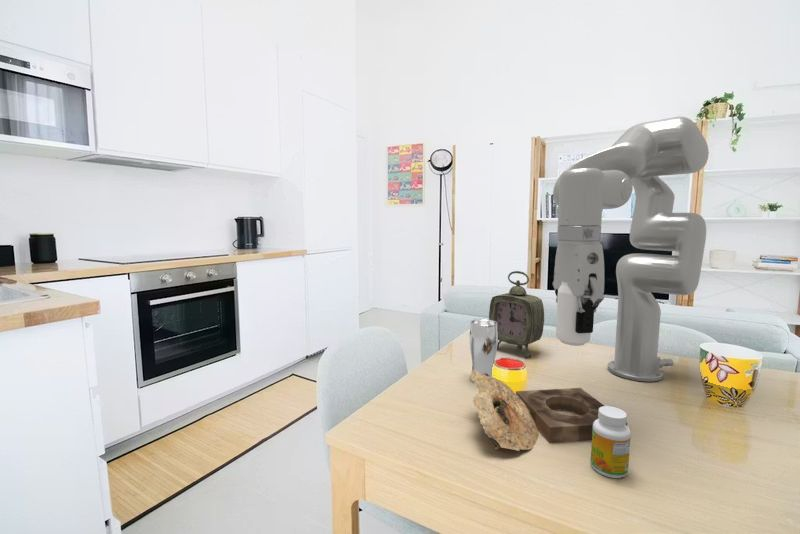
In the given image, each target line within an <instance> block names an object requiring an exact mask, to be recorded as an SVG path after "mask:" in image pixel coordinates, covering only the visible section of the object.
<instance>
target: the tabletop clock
mask: <svg viewBox="0 0 800 534" xmlns="http://www.w3.org/2000/svg"><path fill="white" fill-rule="evenodd" d="M513 274H518V275H519V274H520V275H523V276H525V277H526V281H525V282H520V280H516V282H515V281H512V280H511V279H510V276H512V275H513ZM507 279H508V281H509V283H510V284H512V285H514V286H512V287H511V288H510V289H509V292H507V293H503V294H498V295H495V296H492V298H491V300H490V303H489V313H488V320H493V321H496V322H497V323H498V346H497V350H498V349H499V348H500V344H501V343H502V342H503V343H506V344H509V345H514V346H516V349H517V350H518V349H519V350H518V351H521V350H523V346H524V348H525V351H526V352H525V353H524V356H525V358H530V357H531V356H532V354H531V352H530V351H529V345H531V344H533V343H536V342H538V341H540V340H541V339H542V336H543V332H544V326H545V309H544V302H543V300H542V299H541V298H539V297H538V296H535V295H532V294H527V291H526V288H525V287H524V286H526V285H527V284H528V283H529V281H530V277H529V275H528V274H527V273H526V272H524V271H519V270H515V271H511V272H509V274H508V276H507Z"/></svg>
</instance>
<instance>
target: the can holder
mask: <svg viewBox="0 0 800 534" xmlns="http://www.w3.org/2000/svg"><path fill="white" fill-rule="evenodd" d="M515 394H516V395H517V396H518V397H519V398H520V399H521V400H522V401H523V402H524V404H525V405H526V406H527V408H528V410H529V412H530V414H531V416H532V418H533V420H534V422H535V424H536V427H537V429H538V432H539V434H541V435H542V437H543V438H544V439H545V440H546V441H547V442H548V443H549V444H555V443H557V444H558V443H559V444H560V443H570V442H572V443H573V442H585V441H586V442H587V441H592V429H593V423H594V421H595V420H597V419H599V418H598V411H599V408H600V407H602V406H605V405H604V404H603V403H601V401H599V400H597V399H596V398H595V397H594V396H592V395H591V394H590V393H588V392H587V391H585V390H584V389H583V388H582V387H571V388H553V389H551V388H550V389H534V390H516V391H515ZM559 411H565V412H571V413H574V414H576V415H571V414H565V413H561V412H559ZM626 426H627V427H628V422H627V423H626Z"/></svg>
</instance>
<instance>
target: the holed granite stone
mask: <svg viewBox="0 0 800 534" xmlns="http://www.w3.org/2000/svg"><path fill="white" fill-rule="evenodd" d="M471 377H472V378H471ZM470 378H471V379H470V381H471V380H472V381H473V382H472V381H471V382H472V383H474V382H475V383H474V384H475V385H476V387H477V389H478V392H477V393H476V395H475V396H474V397H473V398H472V402H473V406H474V407H475V408H476V409H477V411H478V418H479V419H478V420H479V421H478V422H479V424H481V425H482V428H483V430H484V434H485V435H486V436H487V438H489V439H490V440H491V441H492V442H493V443H494V444H495V445H496V446H495V447H494V448H493V450H498V449H499V448H503V449H509V450H513V451H514V450H515V451H518V452H520V451H521V450H523V451H524V450H527V451H528V450H531V449H533V448H534V447H535V445H536V443H537V441H538V439H539V437H540V432H539V431H538V429H537V427H536V424H535V422H534V420H533V418H532V416H531V414H530V412H529V410H528V408H527V406H526V405H525V404H524V402H523V401H522V400H521V399H520V398H519V397H518V396H517V395H516V392H514V391H513V389H512V388H511V387H510V386H508V385H507V384H505V382H503V381H501V380H499V379H497V378H496V377H495V378H493V377H490V376H486V375H483V374H482V373H480V372H478V371H476V370H475V371H472V370H471V373H470Z"/></svg>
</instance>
